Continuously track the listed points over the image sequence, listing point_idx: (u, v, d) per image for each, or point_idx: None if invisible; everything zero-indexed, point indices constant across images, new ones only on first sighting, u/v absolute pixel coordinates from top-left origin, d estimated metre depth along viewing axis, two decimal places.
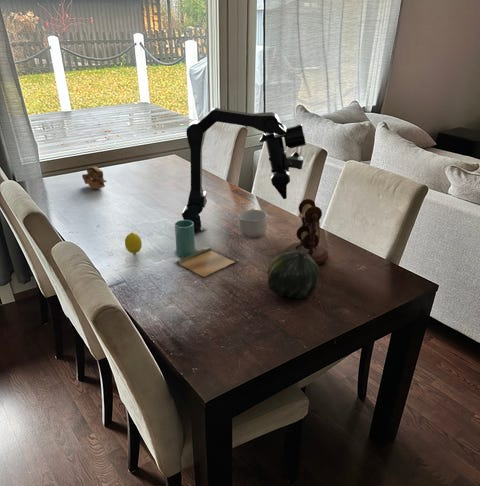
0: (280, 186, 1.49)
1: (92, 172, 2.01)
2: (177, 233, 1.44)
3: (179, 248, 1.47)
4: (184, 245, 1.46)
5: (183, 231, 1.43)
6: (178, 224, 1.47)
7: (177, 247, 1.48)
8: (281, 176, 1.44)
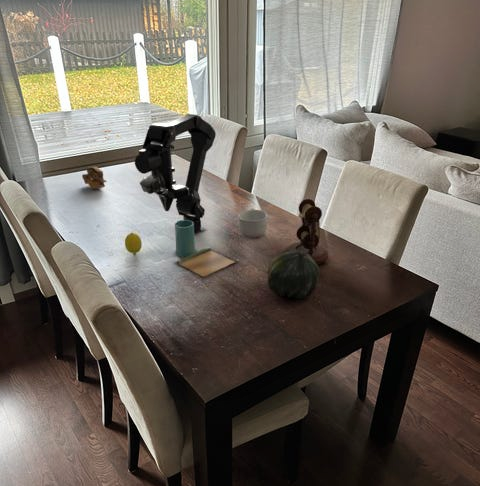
0: None
1: (92, 172, 2.01)
2: (177, 233, 1.44)
3: (179, 248, 1.47)
4: (184, 245, 1.46)
5: (183, 231, 1.43)
6: (178, 224, 1.47)
7: (177, 247, 1.48)
8: None
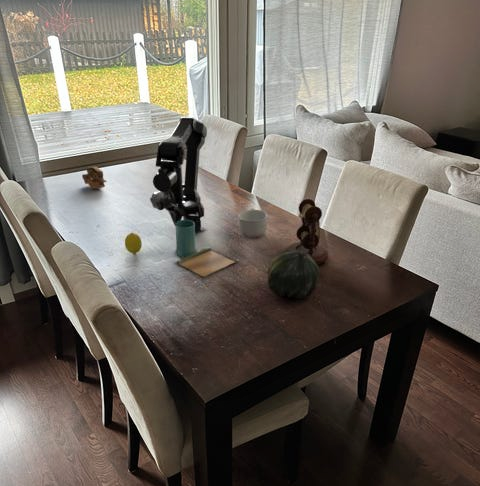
0: None
1: (92, 172, 2.01)
2: (178, 233, 1.44)
3: (179, 248, 1.47)
4: (184, 245, 1.46)
5: (184, 231, 1.43)
6: (179, 224, 1.47)
7: (177, 247, 1.47)
8: None
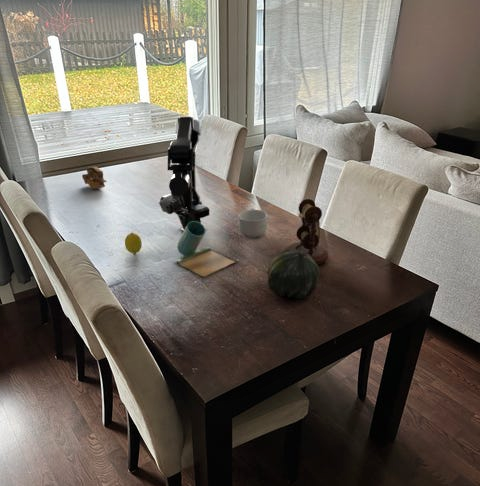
0: None
1: (92, 172, 2.01)
2: (186, 236, 1.41)
3: (182, 247, 1.45)
4: (188, 247, 1.45)
5: (193, 238, 1.41)
6: (189, 224, 1.43)
7: (180, 245, 1.46)
8: None
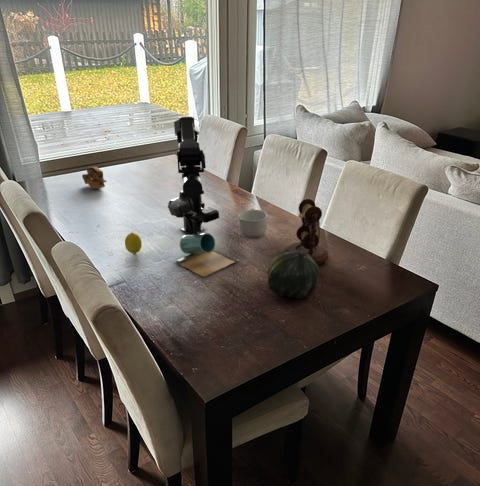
0: None
1: (92, 172, 2.01)
2: (195, 247, 1.40)
3: (186, 248, 1.44)
4: (192, 252, 1.44)
5: (201, 252, 1.40)
6: None
7: (185, 245, 1.44)
8: None
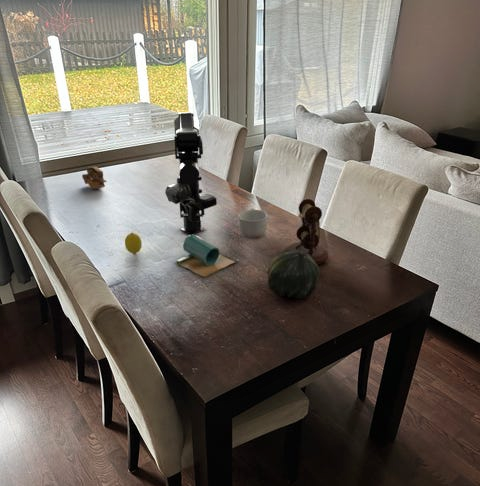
0: None
1: (92, 172, 2.01)
2: (199, 257, 1.41)
3: (189, 250, 1.44)
4: None
5: (204, 263, 1.42)
6: None
7: (189, 248, 1.43)
8: None
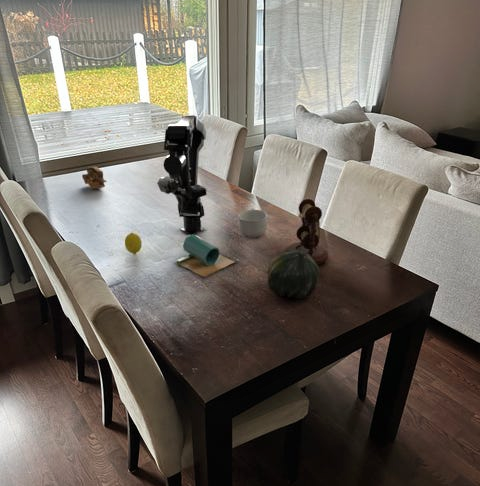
0: None
1: (92, 172, 2.01)
2: (199, 257, 1.41)
3: (189, 250, 1.44)
4: None
5: (204, 263, 1.42)
6: None
7: (189, 248, 1.43)
8: None
